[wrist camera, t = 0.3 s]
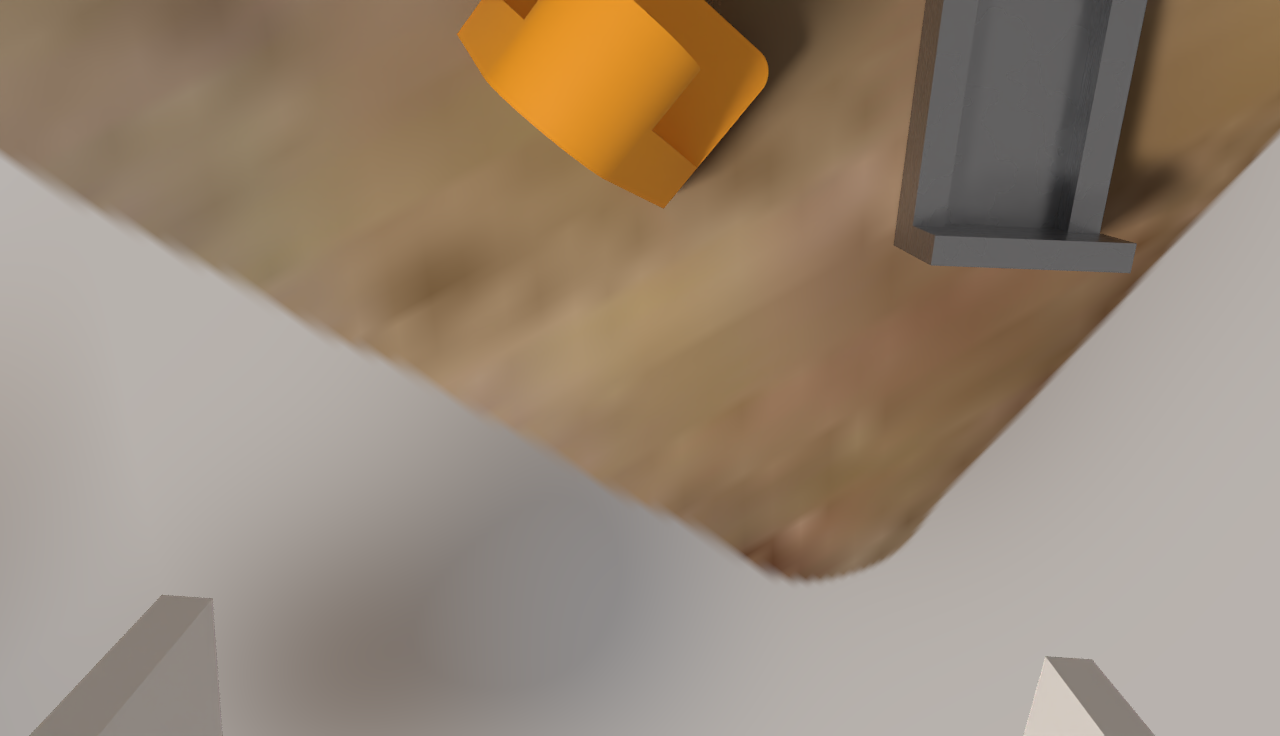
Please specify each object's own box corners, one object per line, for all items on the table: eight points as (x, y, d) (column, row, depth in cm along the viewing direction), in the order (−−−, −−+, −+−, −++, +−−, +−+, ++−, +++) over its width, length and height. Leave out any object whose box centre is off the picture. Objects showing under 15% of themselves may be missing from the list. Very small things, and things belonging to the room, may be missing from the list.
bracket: (768, 71, 37) (832, 57, 25) (661, 201, 38) (674, 243, 27) (574, -107, 34) (547, -211, 23) (469, 38, 36) (395, 9, 25)
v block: (950, -184, 34) (1002, -230, 29) (1151, -173, 34) (1237, -218, 29) (893, 245, 39) (931, 265, 34) (1069, 252, 39) (1130, 272, 34)
